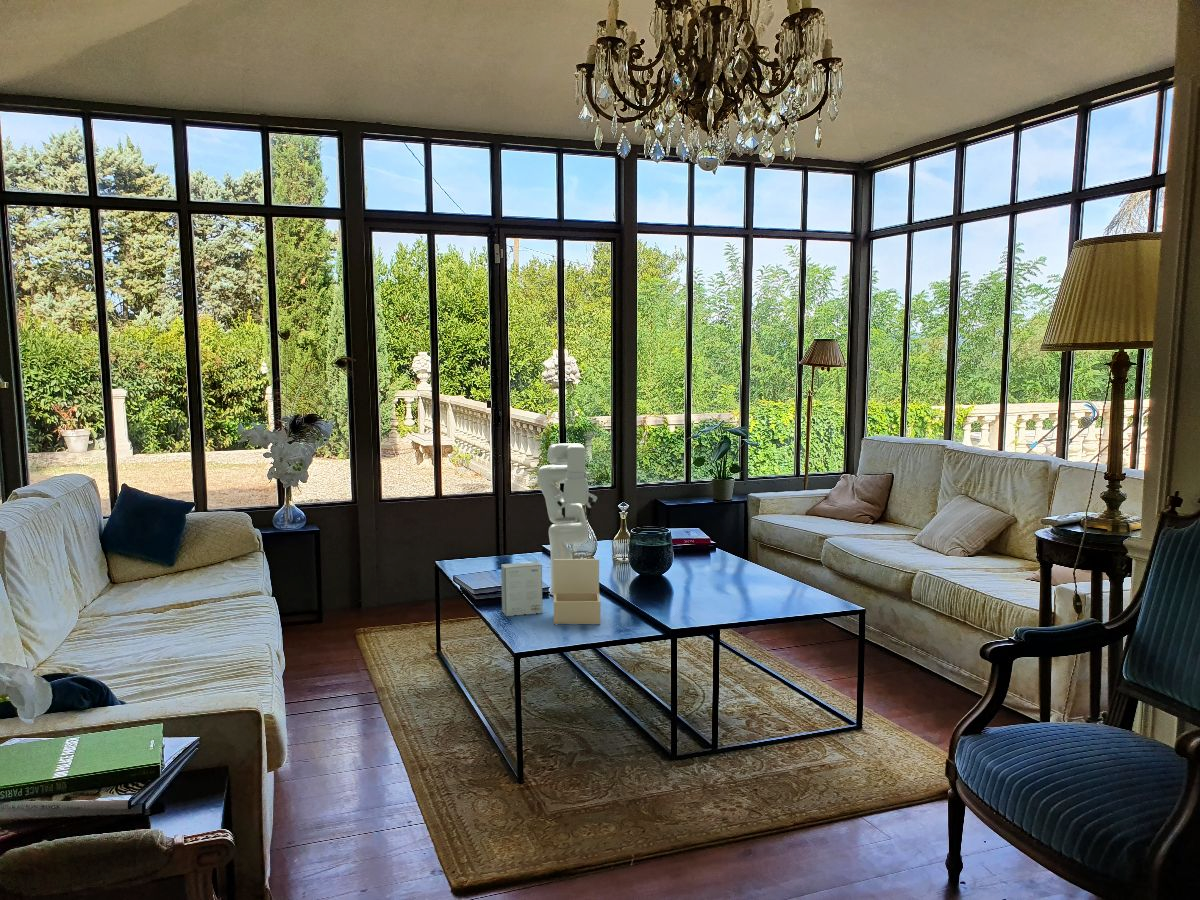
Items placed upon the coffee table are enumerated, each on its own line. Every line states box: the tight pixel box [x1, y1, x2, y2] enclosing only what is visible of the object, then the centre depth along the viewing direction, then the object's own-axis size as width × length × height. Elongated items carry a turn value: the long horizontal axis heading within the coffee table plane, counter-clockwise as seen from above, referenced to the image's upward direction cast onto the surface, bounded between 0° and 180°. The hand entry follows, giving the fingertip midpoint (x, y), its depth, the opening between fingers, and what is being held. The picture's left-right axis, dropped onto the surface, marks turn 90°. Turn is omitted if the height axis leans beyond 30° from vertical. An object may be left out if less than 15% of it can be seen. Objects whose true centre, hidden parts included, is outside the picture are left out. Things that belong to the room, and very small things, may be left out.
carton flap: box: [554, 553, 600, 594], centre depth 341 cm, size 14×18×8 cm
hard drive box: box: [500, 561, 544, 617], centre depth 342 cm, size 16×8×20 cm, turn 108°
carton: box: [553, 592, 602, 625], centre depth 333 cm, size 14×18×9 cm
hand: (576, 517), depth 347 cm, fingers open, 9 cm apart
